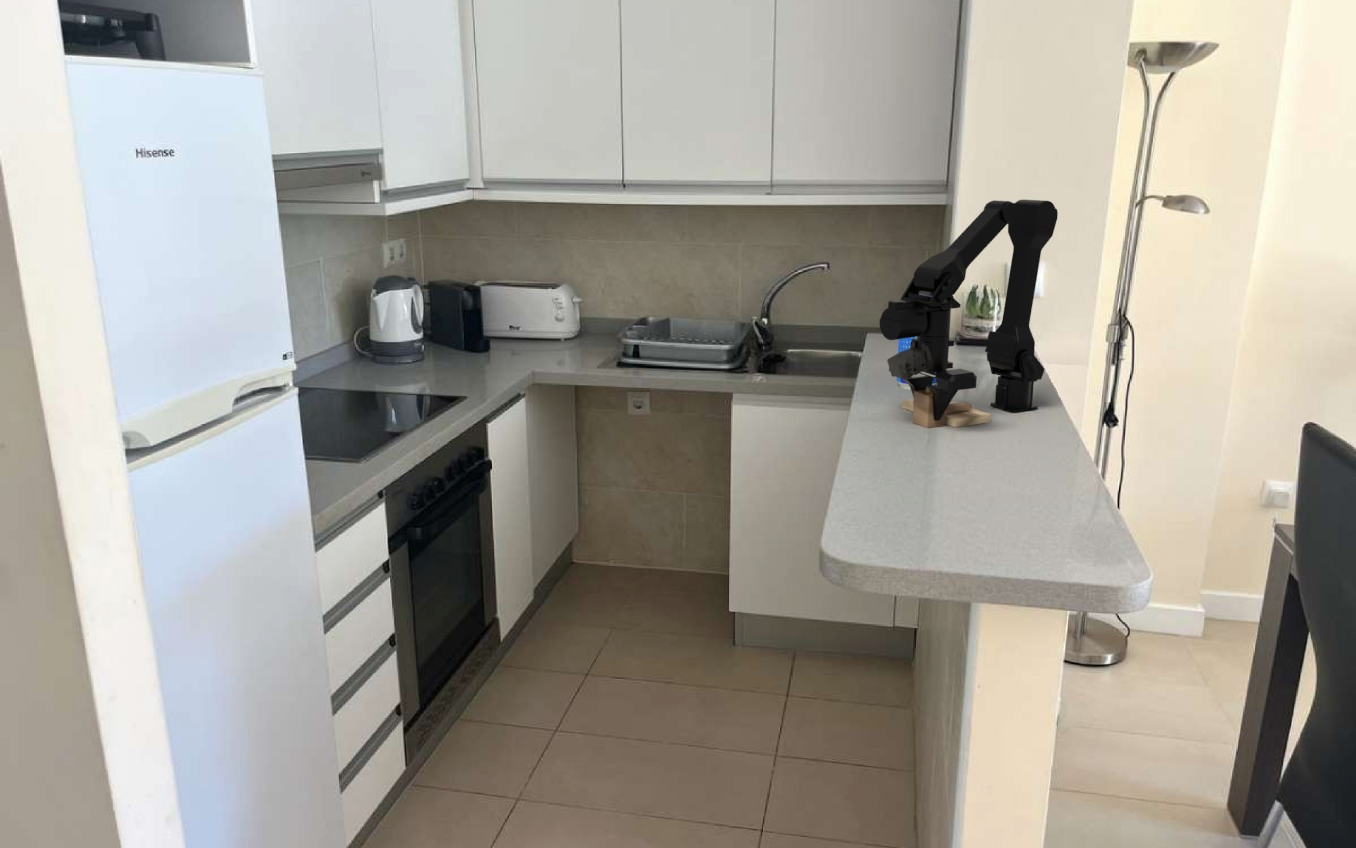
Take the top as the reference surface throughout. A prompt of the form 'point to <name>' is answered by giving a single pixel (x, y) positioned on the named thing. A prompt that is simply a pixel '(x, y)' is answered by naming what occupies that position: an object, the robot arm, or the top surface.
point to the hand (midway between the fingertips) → (928, 417)
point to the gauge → (925, 409)
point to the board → (957, 415)
